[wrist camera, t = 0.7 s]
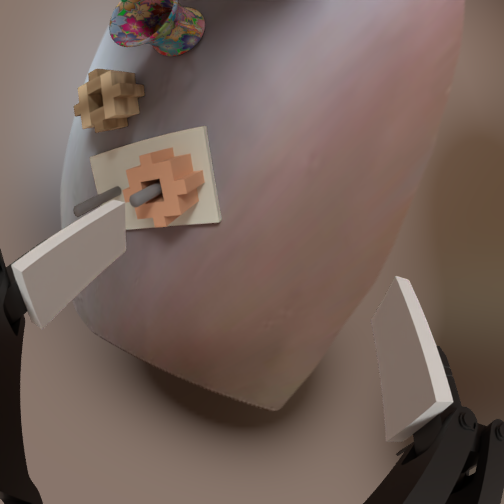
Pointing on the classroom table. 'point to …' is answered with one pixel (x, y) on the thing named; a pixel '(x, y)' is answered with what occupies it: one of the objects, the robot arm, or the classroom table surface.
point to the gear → (108, 100)
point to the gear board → (130, 159)
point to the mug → (157, 25)
